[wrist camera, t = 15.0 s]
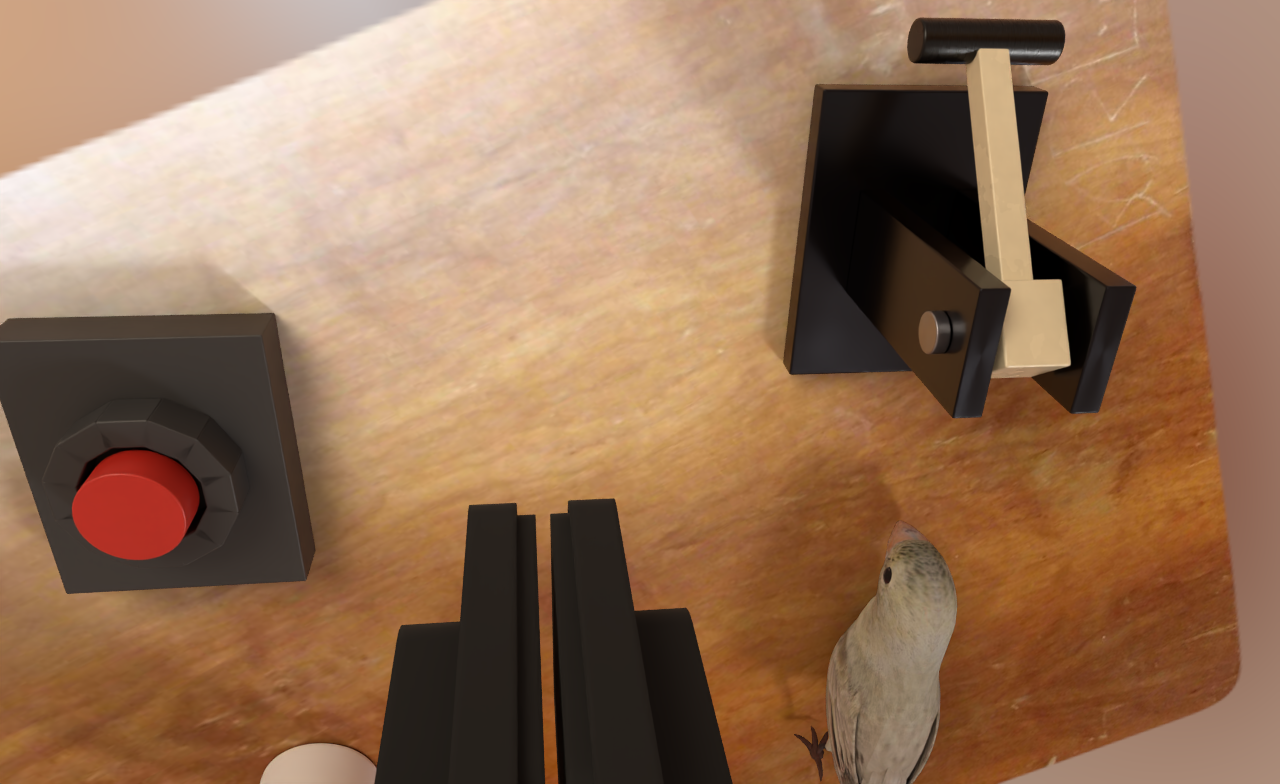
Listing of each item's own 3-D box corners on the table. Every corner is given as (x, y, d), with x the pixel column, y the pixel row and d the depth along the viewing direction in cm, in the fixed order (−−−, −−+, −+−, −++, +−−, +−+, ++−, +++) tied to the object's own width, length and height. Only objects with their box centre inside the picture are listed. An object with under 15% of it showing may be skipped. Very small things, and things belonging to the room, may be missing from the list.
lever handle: (899, 39, 32) (928, 0, 30) (1033, 40, 33) (1072, 4, 30) (929, 380, 30) (963, 369, 28) (1069, 376, 31) (1114, 364, 29)
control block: (8, 317, 36) (-47, 363, 32) (274, 312, 37) (249, 355, 33) (86, 562, 41) (47, 623, 38) (315, 550, 42) (298, 608, 39)
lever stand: (814, 83, 35) (939, 159, 25) (1034, 86, 36) (1241, 159, 26) (782, 363, 41) (873, 520, 30) (973, 357, 42) (1124, 507, 32)
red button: (78, 450, 35) (58, 476, 33) (189, 446, 35) (174, 471, 34) (104, 536, 37) (86, 563, 35) (208, 530, 37) (195, 558, 36)
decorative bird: (951, 515, 46) (1024, 617, 40) (872, 739, 53) (923, 857, 47) (851, 511, 45) (908, 614, 39) (785, 740, 53) (823, 860, 46)
